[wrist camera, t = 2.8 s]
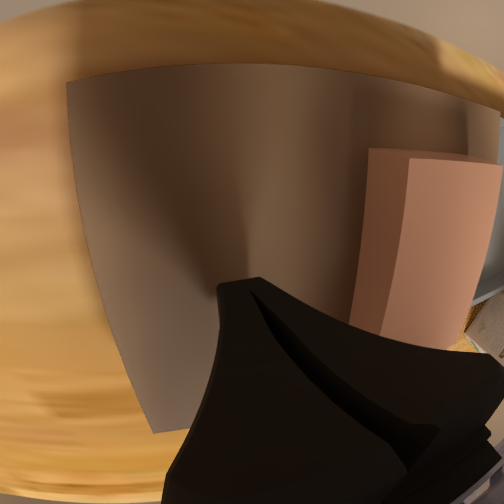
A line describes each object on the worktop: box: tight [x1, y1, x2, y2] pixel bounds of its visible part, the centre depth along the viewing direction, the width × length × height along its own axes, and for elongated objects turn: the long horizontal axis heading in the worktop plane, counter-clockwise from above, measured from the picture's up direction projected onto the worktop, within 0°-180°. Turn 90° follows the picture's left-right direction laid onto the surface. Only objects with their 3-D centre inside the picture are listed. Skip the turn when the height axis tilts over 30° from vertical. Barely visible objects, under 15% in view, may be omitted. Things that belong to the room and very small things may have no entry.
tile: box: [349, 148, 503, 350], centre depth 11 cm, size 6×9×2 cm, turn 2°
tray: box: [470, 117, 504, 307], centre depth 18 cm, size 14×14×2 cm
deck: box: [66, 63, 500, 433], centre depth 13 cm, size 18×14×4 cm
